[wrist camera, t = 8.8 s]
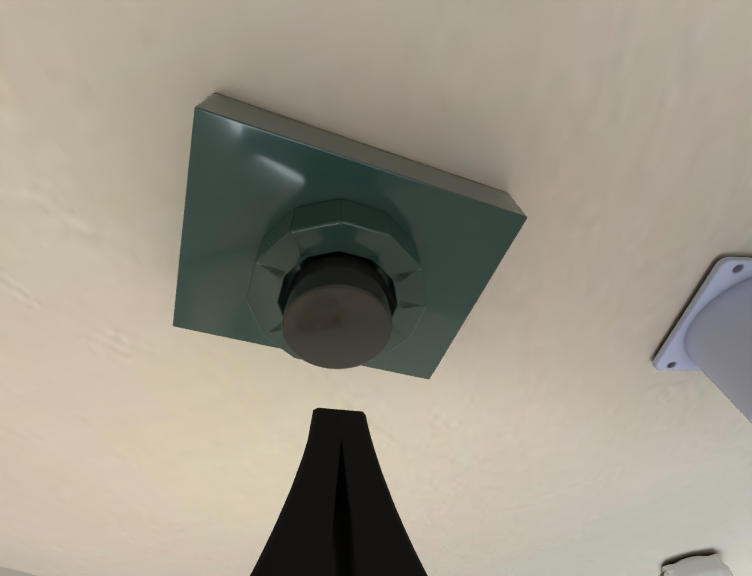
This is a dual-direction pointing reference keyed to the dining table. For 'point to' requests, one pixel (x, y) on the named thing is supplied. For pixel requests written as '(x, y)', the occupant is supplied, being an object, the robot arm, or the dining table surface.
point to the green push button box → (329, 231)
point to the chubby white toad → (698, 567)
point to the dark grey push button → (337, 313)
